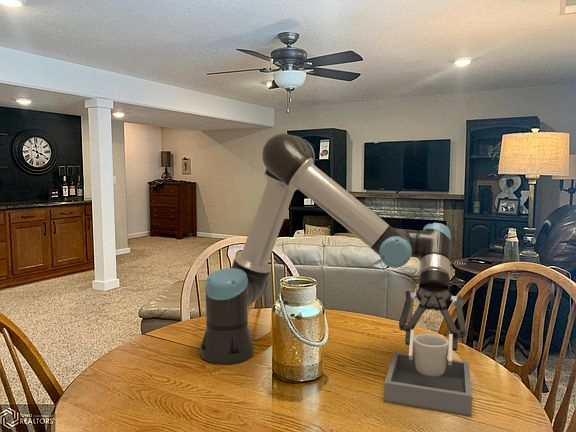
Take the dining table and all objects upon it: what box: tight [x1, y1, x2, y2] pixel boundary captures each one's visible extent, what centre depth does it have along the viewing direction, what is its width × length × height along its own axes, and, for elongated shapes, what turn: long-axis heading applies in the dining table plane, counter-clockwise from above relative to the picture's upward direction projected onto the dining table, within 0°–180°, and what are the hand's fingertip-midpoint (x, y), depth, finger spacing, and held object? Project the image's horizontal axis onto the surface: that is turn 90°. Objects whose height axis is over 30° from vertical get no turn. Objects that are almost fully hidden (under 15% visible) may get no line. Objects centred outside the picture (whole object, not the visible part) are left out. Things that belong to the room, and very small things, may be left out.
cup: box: [413, 333, 449, 377], centre depth 108 cm, size 11×8×8 cm
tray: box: [383, 351, 473, 417], centre depth 109 cm, size 18×18×4 cm
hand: (430, 360), depth 105 cm, fingers closed on cup, 8 cm apart
